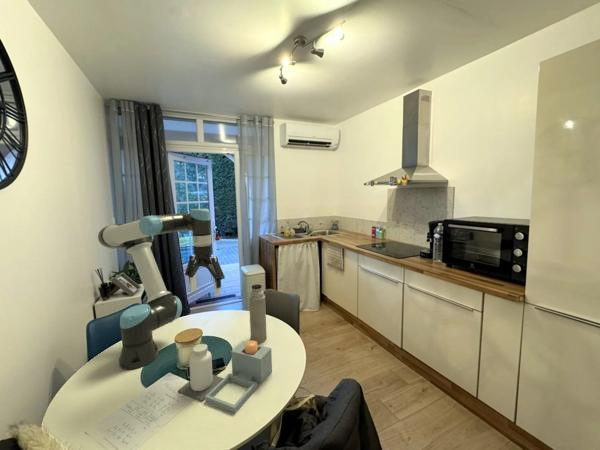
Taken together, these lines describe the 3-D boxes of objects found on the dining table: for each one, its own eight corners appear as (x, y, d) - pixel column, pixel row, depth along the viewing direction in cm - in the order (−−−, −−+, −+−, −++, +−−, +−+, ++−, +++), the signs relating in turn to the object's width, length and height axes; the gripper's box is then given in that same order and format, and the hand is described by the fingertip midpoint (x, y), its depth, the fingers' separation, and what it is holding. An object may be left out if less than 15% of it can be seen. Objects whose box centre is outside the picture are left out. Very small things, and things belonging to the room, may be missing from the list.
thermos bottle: (258, 333, 139) (256, 282, 136) (269, 337, 135) (268, 284, 132) (247, 340, 132) (245, 286, 129) (259, 344, 128) (257, 289, 125)
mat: (177, 392, 98) (177, 390, 98) (201, 372, 108) (201, 371, 108) (202, 401, 93) (201, 400, 93) (224, 380, 103) (224, 378, 103)
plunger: (243, 362, 106) (242, 345, 105) (250, 355, 110) (249, 339, 110) (253, 365, 104) (252, 348, 103) (260, 358, 108) (259, 342, 108)
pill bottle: (213, 388, 98) (211, 350, 97) (190, 394, 95) (187, 355, 94) (212, 375, 106) (210, 339, 104) (190, 380, 103) (188, 344, 101)
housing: (204, 401, 93) (202, 375, 92) (244, 362, 114) (243, 341, 113) (236, 414, 87) (234, 386, 86) (272, 371, 108) (271, 348, 107)
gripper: (174, 244, 113) (177, 292, 116) (219, 248, 103) (222, 300, 105) (188, 242, 120) (191, 286, 122) (231, 245, 110) (234, 293, 112)
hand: (205, 293), depth 114 cm, fingers open, 13 cm apart
